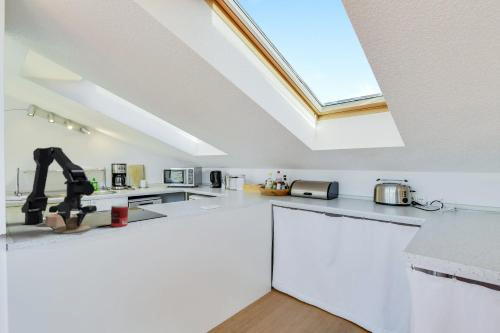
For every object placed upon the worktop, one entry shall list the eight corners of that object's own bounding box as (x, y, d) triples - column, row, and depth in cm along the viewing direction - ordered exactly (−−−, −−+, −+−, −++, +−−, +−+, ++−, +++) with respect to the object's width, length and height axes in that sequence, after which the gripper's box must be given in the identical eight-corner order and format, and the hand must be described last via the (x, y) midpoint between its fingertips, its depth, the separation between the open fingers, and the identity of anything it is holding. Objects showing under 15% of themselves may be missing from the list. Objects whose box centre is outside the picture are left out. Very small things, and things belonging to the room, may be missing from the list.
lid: (46, 233, 114) (47, 220, 114) (66, 226, 128) (67, 214, 128) (79, 234, 115) (79, 221, 115) (96, 226, 129) (96, 215, 129)
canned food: (128, 224, 138) (128, 203, 138) (126, 227, 130) (127, 205, 130) (112, 225, 135) (112, 204, 135) (109, 228, 127) (110, 206, 128)
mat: (42, 235, 113) (42, 234, 113) (66, 226, 129) (66, 225, 129) (80, 235, 114) (80, 234, 114) (99, 227, 130) (99, 226, 130)
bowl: (40, 227, 127) (41, 217, 127) (55, 222, 137) (55, 213, 137) (62, 227, 128) (63, 217, 128) (75, 222, 138) (76, 213, 138)
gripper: (40, 195, 113) (39, 231, 113) (84, 196, 114) (83, 231, 114) (57, 193, 124) (56, 225, 124) (97, 193, 125) (96, 225, 125)
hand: (72, 227), depth 122 cm, fingers open, 5 cm apart
